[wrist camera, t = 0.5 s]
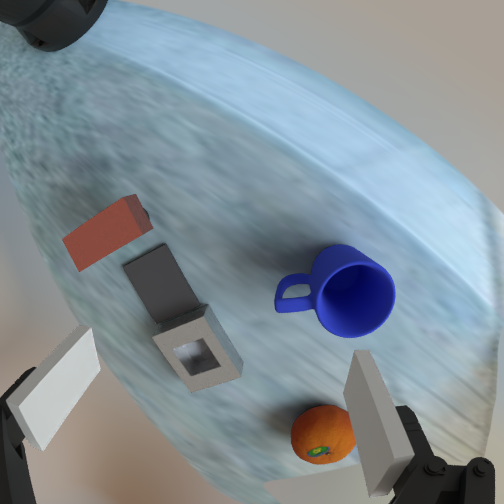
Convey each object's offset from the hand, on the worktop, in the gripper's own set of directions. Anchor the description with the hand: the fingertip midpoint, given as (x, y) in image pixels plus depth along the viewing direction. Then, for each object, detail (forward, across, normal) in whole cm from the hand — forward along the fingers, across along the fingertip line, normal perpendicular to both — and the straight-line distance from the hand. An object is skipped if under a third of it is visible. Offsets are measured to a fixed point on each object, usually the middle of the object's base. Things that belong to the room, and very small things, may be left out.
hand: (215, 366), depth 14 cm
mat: (+25, -11, -7) cm, 28 cm away
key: (+25, -14, +2) cm, 29 cm away
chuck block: (+25, -6, -15) cm, 30 cm away
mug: (+25, +9, -3) cm, 27 cm away
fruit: (+25, +13, -29) cm, 40 cm away
